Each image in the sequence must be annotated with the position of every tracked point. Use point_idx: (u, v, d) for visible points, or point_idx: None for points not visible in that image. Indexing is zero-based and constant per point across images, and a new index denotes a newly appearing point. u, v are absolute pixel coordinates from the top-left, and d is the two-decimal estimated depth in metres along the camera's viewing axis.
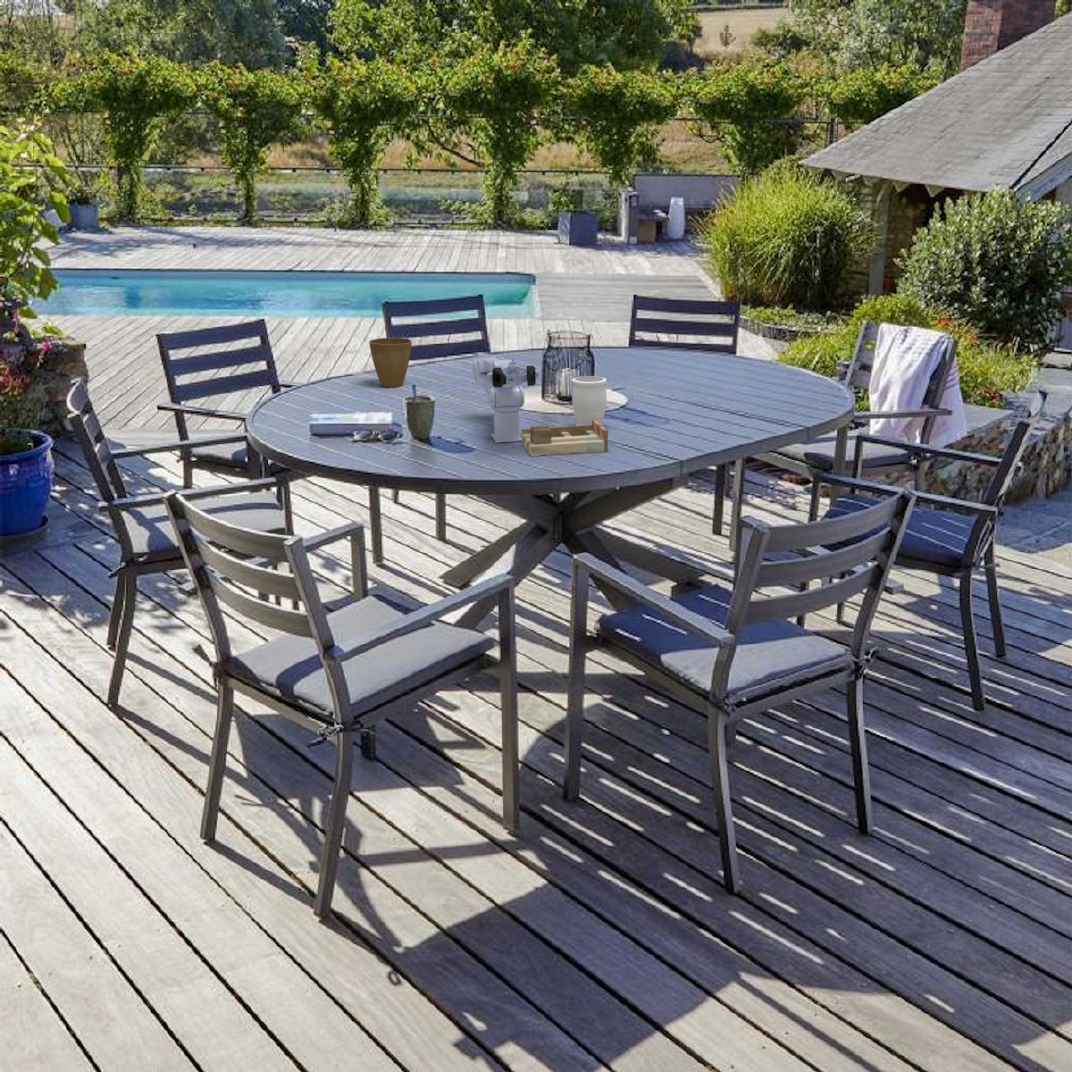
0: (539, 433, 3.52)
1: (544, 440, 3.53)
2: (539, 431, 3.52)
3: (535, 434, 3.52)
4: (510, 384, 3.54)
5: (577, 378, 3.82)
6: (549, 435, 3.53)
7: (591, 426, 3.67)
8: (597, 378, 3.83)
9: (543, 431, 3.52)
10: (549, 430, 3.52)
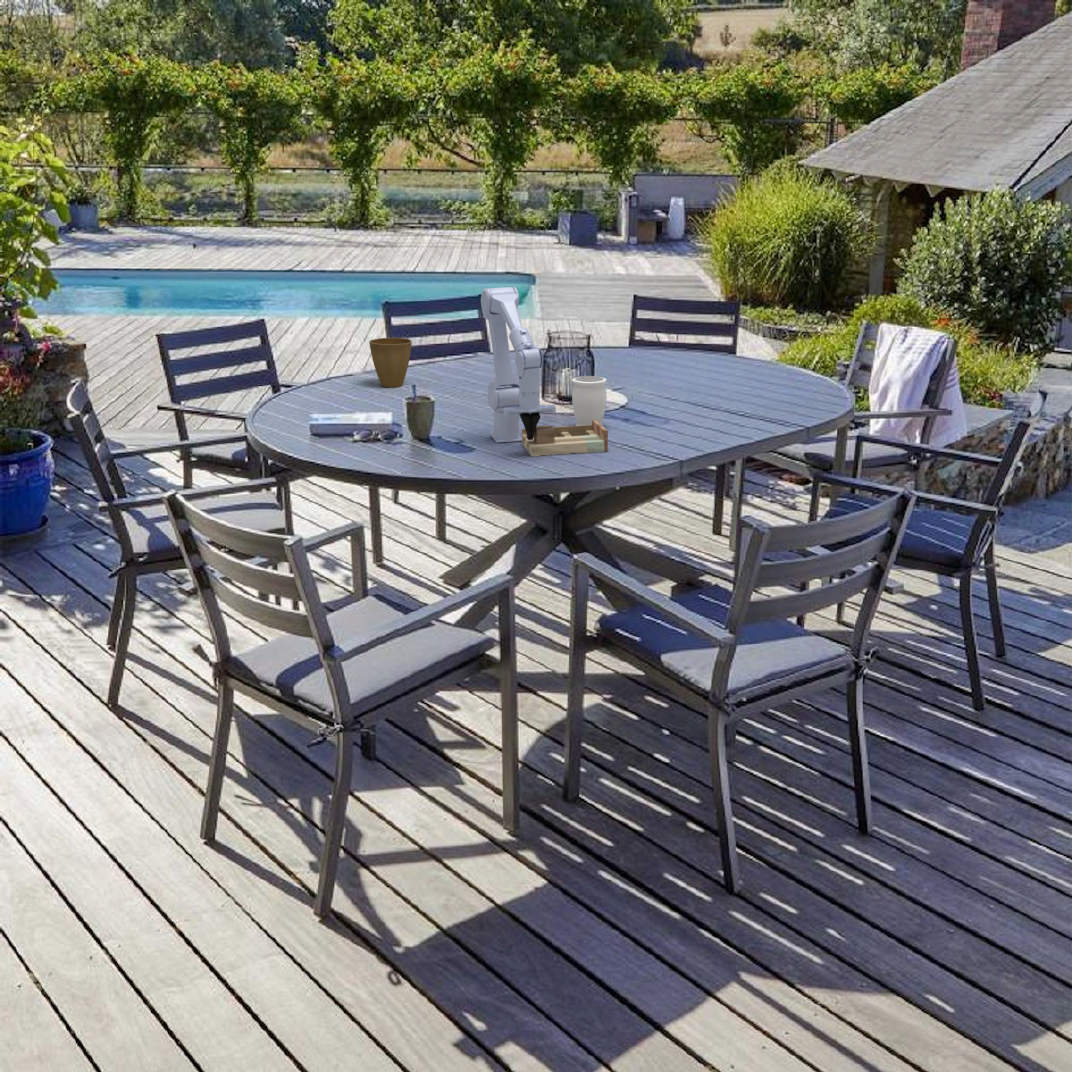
0: (542, 433, 3.52)
1: (547, 440, 3.53)
2: (542, 431, 3.52)
3: (538, 434, 3.52)
4: None
5: (577, 378, 3.82)
6: (552, 435, 3.53)
7: (591, 426, 3.67)
8: (597, 378, 3.83)
9: (546, 431, 3.52)
10: (552, 430, 3.52)
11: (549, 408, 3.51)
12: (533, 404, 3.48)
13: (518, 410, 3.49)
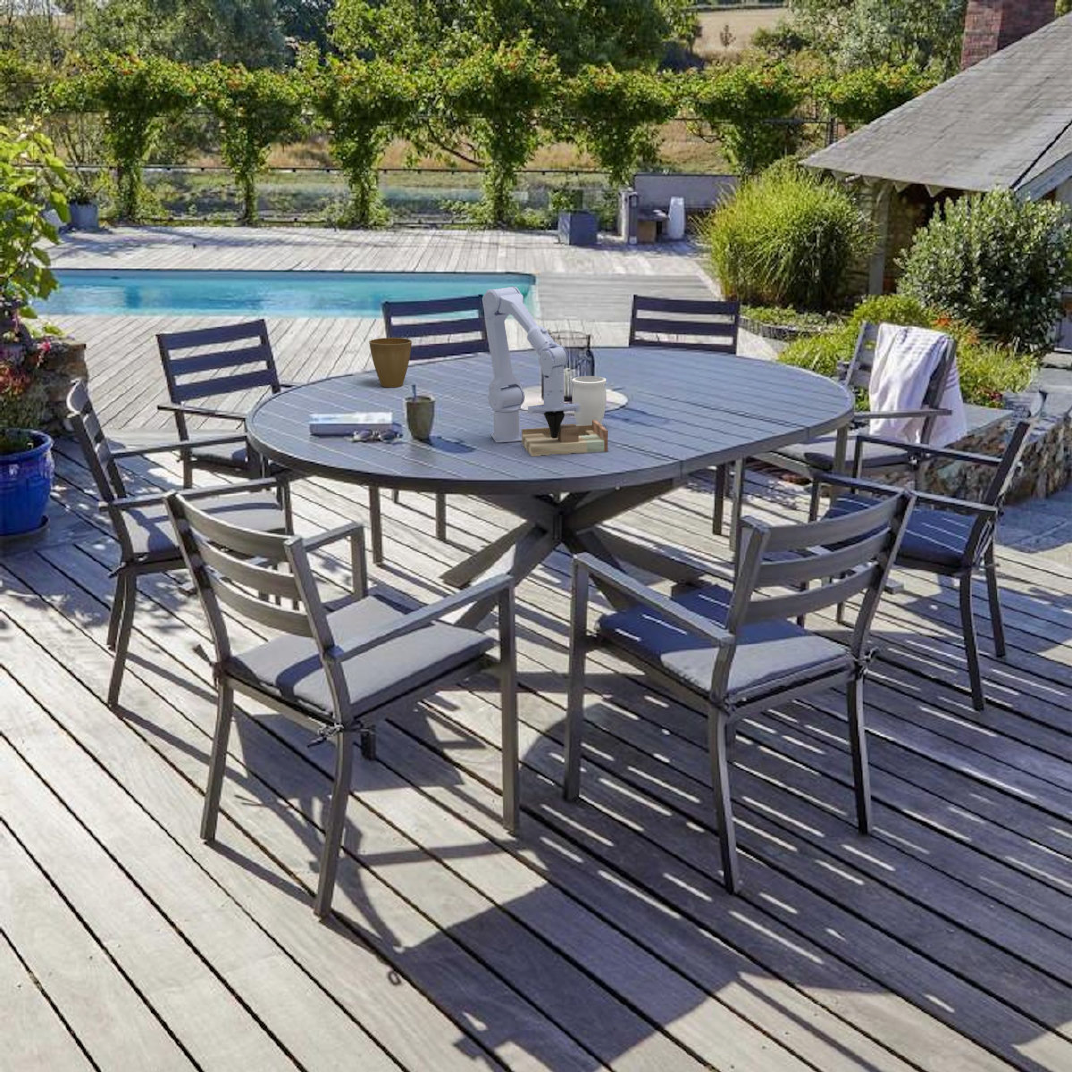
0: (566, 431, 3.53)
1: (571, 438, 3.54)
2: (566, 429, 3.53)
3: (562, 433, 3.53)
4: None
5: (577, 378, 3.82)
6: (576, 433, 3.54)
7: (591, 426, 3.67)
8: (597, 378, 3.83)
9: (570, 429, 3.53)
10: (576, 428, 3.54)
11: (573, 407, 3.53)
12: (557, 402, 3.50)
13: (543, 409, 3.50)
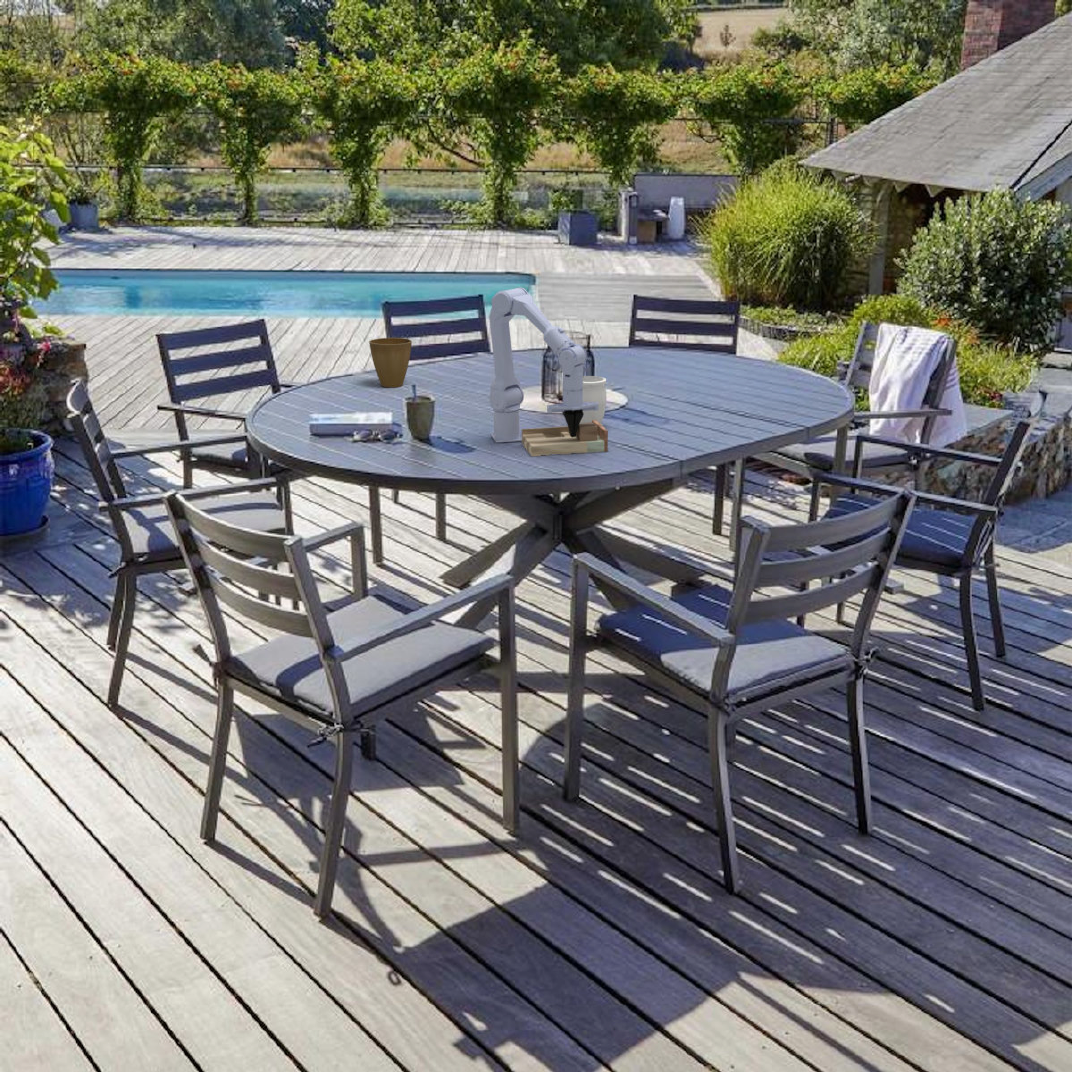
0: (585, 430, 3.54)
1: (590, 437, 3.55)
2: (585, 428, 3.54)
3: (581, 431, 3.54)
4: None
5: None
6: (595, 432, 3.55)
7: None
8: (597, 378, 3.83)
9: (589, 428, 3.54)
10: (595, 427, 3.55)
11: (592, 405, 3.54)
12: (576, 401, 3.51)
13: (562, 407, 3.51)
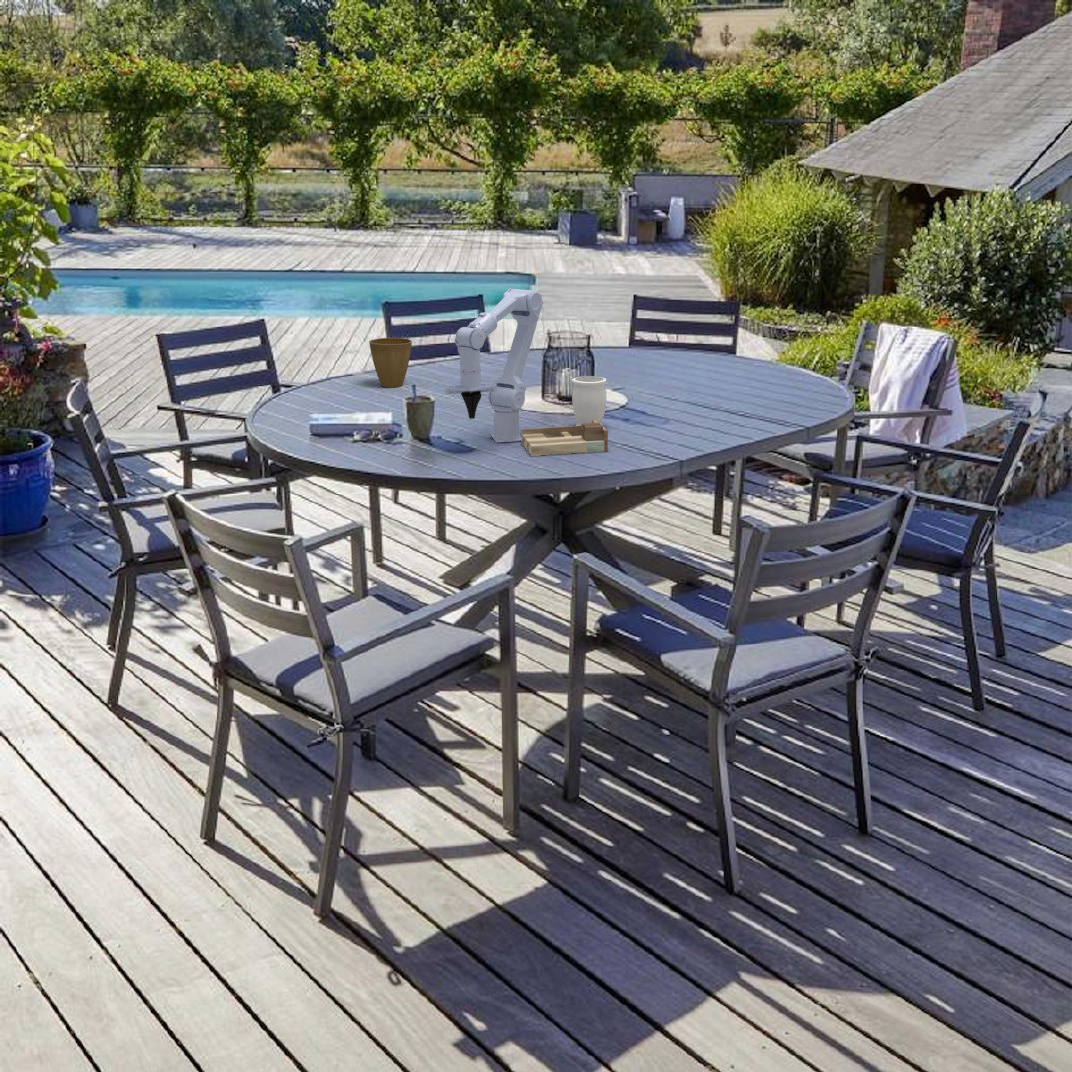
0: (591, 430, 3.55)
1: (596, 437, 3.56)
2: (591, 428, 3.54)
3: (587, 431, 3.55)
4: None
5: (577, 378, 3.82)
6: (601, 432, 3.55)
7: None
8: (597, 378, 3.83)
9: (595, 428, 3.55)
10: (601, 427, 3.55)
11: (490, 387, 3.53)
12: (473, 382, 3.50)
13: (459, 389, 3.51)
